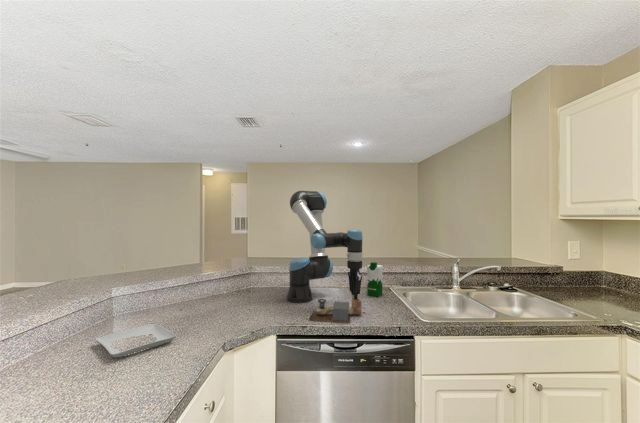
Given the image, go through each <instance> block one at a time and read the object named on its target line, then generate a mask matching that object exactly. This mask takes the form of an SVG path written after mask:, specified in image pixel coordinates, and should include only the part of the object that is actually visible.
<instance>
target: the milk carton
mask: <svg viewBox="0 0 640 423" xmlns="http://www.w3.org/2000/svg"><path fill="white" fill-rule="evenodd" d="M383 268H384V265H383V264H382V265H381V264H378V262H375V261H373V262H372V261H371V262H370V263H369V264H368V265H367V266H366V281H367V282H366V287H367V288H366V290H367V291H366V292H367V295H366V296H369V297H370V296H371V297H374V298H375V297H376V298H379V297H380V296H382V295H383Z"/></svg>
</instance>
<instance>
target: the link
mask: <svg viewBox="0 0 640 423" xmlns="http://www.w3.org/2000/svg"><path fill="white" fill-rule="evenodd" d="M362 308H363V307H362V299H361V298H358V299H352V298H351V306H349V314H351V315H362ZM316 311H317V314H319V315H325V314H333V306H325V308H319V306H317V307H316Z"/></svg>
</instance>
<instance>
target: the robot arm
mask: <svg viewBox="0 0 640 423" xmlns="http://www.w3.org/2000/svg"><path fill="white" fill-rule="evenodd" d="M289 206H290V209H291V210H292V212H293V213H294V214H296V215H297V217H298V218H299V220H300V221H301V222H302V224H303V226H304V227H305V229H306V230H307V232H308V233H309V234H308V235H309V244H310V255H309V256H308V257H297V258H294V259H292V260H291V261H290V262H289V268H288V269H289V286H288V290H287V293H286V299H285V300H286V301H287V302H290V303H295V304H296V303H298V304H300V303H301V304H302V303H309V302H311V301H313V292H312V289H311V287H310V281H311V280H312V281H313V280H318V279H319V280H320V279H322V280H323V279H325V278H326V279H327V278H328V277H330V276H331V275H332V273H333V270H334V263H333V261H332V259H331V258H330V257H329V254H327V253H326V249H329V248H331V249H332V248H347V253H346V256H347V262H346V265H347V268H348V269H349V271H348V272H347V276H348V285H349V292H350V293H351V300H352V299H359V296H358V295H360V294H361V289H362V280H363V276H362V275H361V272H360V271H361V269H363V231H362V230H361V229H348V230H347V232H341V231H339V232H327V231H326V230H325V229H324V227H323V218H322V217H323V216H322V215H323V213H324V210H325V209H326V208H327V198H326V195H325V193H323V192H321V191H313V190H298V191H295V192H294V193H293V194H292V195H291V197H290V199H289Z"/></svg>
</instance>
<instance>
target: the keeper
mask: <svg viewBox="0 0 640 423" xmlns="http://www.w3.org/2000/svg"><path fill="white" fill-rule="evenodd" d="M317 303H319V304H318V307H319V308H325V307H326V305H325V304H326V303H327V299H325V298H319V299H317ZM332 307H333V314H325V315H319V314H317V310H313V311H312V312H311V314H310V316H309V318H308V321H309V322H324V323H339V324H340V323H341V324H351V318H352V314H349V307H350V302H348V301H347V302H346V301H345V302H343V301H334V303H333V306H332Z"/></svg>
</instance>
